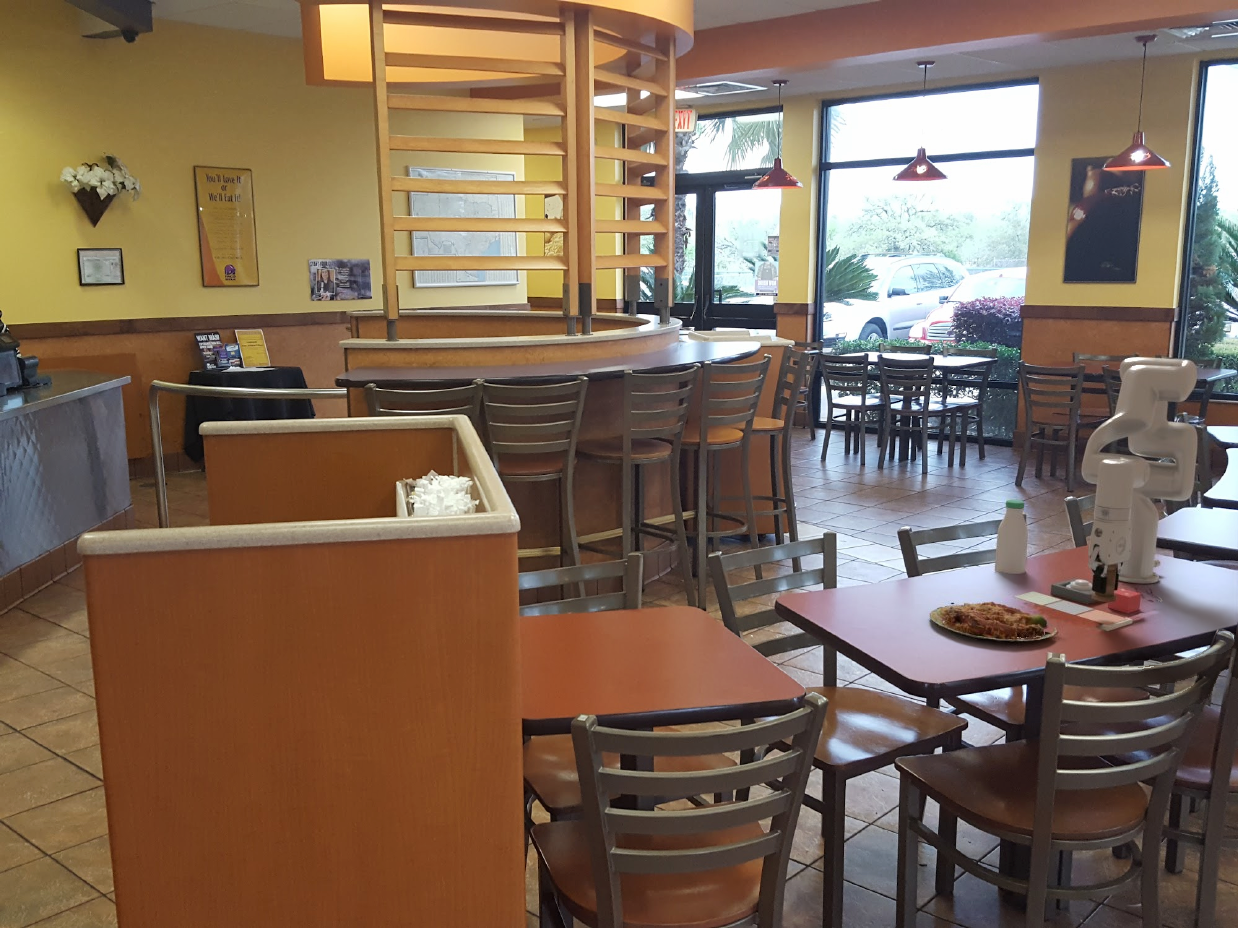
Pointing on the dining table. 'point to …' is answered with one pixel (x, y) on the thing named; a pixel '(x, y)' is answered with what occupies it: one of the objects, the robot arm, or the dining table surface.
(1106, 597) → the wooden pepper mill
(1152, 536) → the robot arm
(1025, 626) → the rice dish
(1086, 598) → the dome housing
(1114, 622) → the board
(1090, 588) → the dome
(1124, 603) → the die
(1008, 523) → the milk bottle
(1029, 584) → the dining table surface
